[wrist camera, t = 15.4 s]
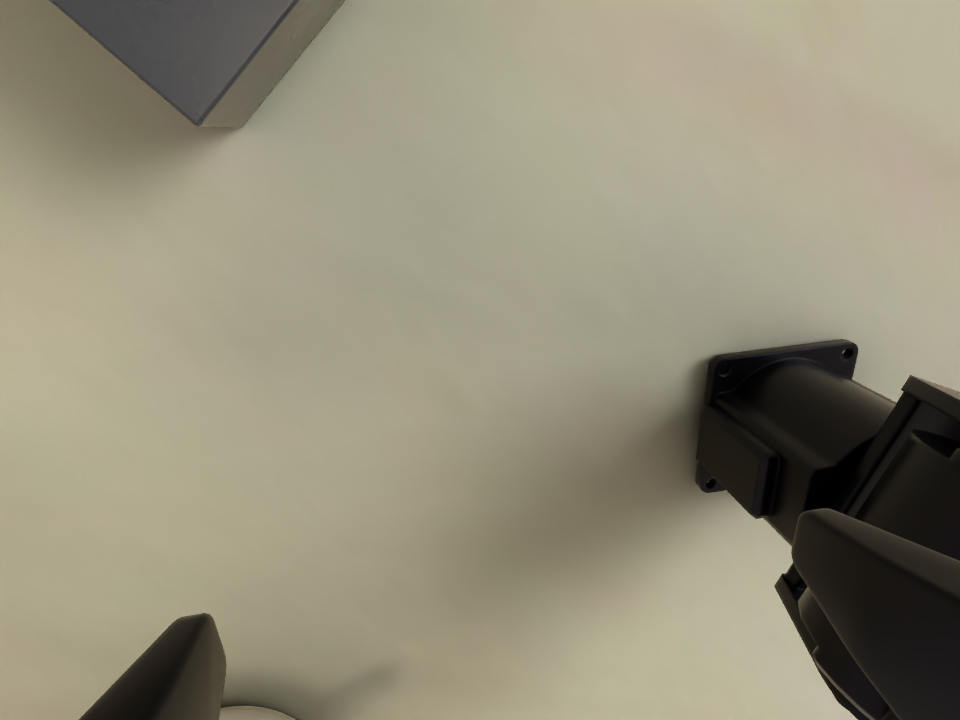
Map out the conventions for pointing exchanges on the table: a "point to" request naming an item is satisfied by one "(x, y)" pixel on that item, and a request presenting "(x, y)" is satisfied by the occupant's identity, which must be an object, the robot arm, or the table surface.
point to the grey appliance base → (205, 47)
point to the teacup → (251, 713)
